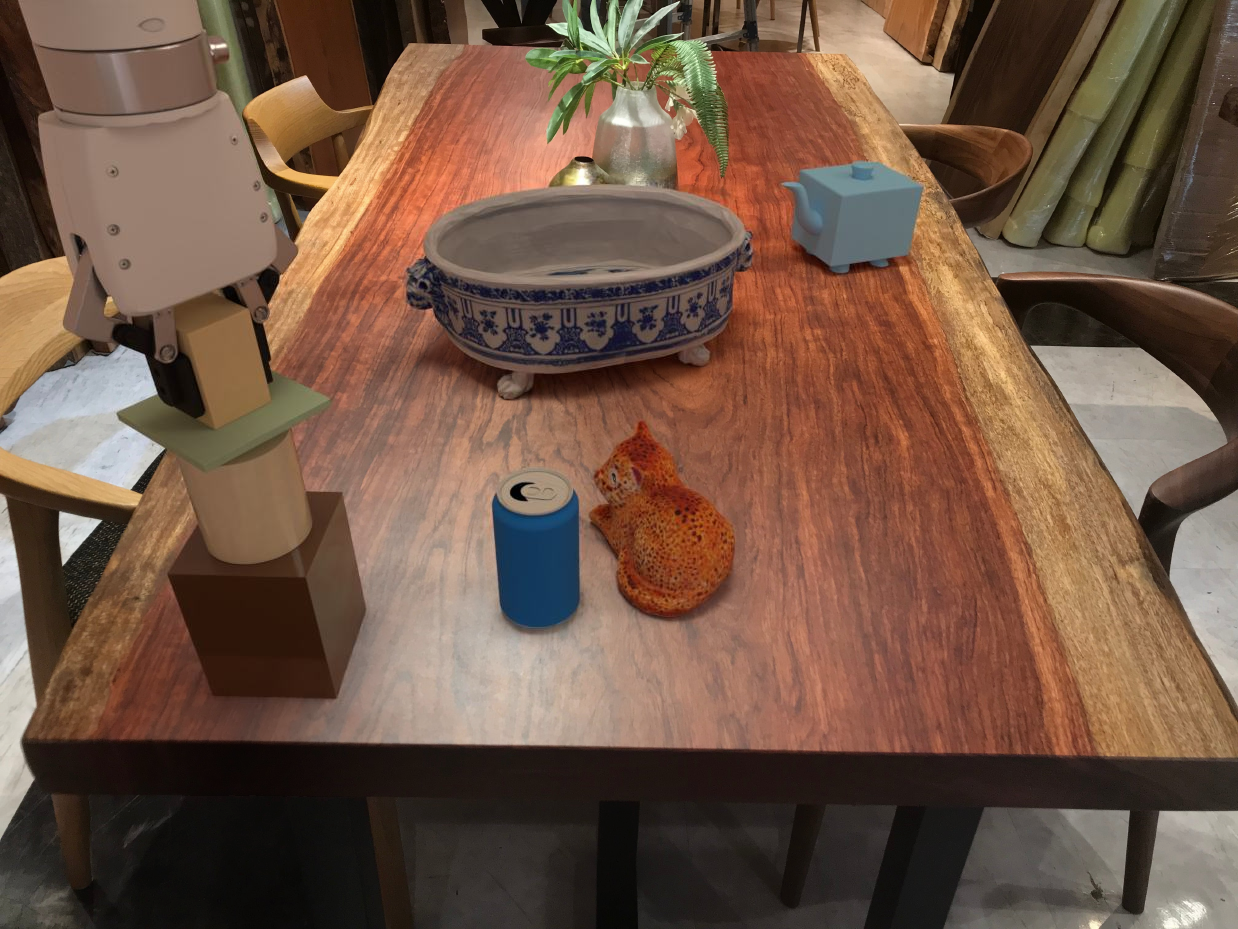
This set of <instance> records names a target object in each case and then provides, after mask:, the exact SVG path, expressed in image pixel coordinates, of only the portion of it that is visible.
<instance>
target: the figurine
mask: <svg viewBox="0 0 1238 929" xmlns="http://www.w3.org/2000/svg"><path fill="white" fill-rule="evenodd" d="M677 470H678V469H677V467H676V464H675V460H674V458H673V456H672V454H671V453H670V452H669V451H668V450H667V449H666V447H664V446H662V445H661V444H660V443H659V442H658V441H656V440H655V439H654V437H653V435H652V433H651V431H650V429H649V426H648V424H647V423H646V421H644V420H638V421H636V425H635V428H634V431H633V435H632V436H630V437H629V438H627V439H625V440H623V441H620V442H618V443H617V444H616V446H615V448H614V449H613V451H612V452H611V454H610V455H609V457H608V459H607V460H606V461H605V462H604V463H603V465H602V466H601V467H600V468H598V469H597V470H596V471H594V473H593V477H592V478H593V482H594V484H595V486H596V488H597V489H598V491H599V493H600V494H601V495H602V497H603V498H604V499H605V501H606V502H607V503H602V504H598V505H597V506H595V507H594V508H593V509H592V510H590V511H589V513H588V518H589V520H590V521H591V522H592V523H593V524H594V525H595V526H597V527H598V529H600V530H601V532H602V534H603V535H604V537H605V539H606V540H607V541H608V543H609V545H610V546H611V548H612V550H613V551H614V553H615V554H616V555H618V558H617V567H616V568H617V570H616V575H615V576H616V581H617V585H618V587H619V589H620V591H621V592H622V593H623V595H624V596H625V598H626V599H627V600H628V601H629V603H630V604H631V605H633V606H635V607H636V608H638V609H639V610H641V612H643V613H646V614H649V615H655V616H659V617H664V618H673V617H674V618H675V617H680V616H683V615H685V614H688V613H689V612H691V611H693V610H695V609H696V608H697V607H699V606H701V604H703V603H705V602H706V600H708V599H709V598H710V597H711V596H712V595H713V594H715V592H716V591H717V590H718V589H719V587H720V586H721V585H722V583H724V581H725V580H727V579H728V578H729V577H730V574H731V572H732V568H733V563H734V559H735V554H736V539H735V531H734V528H733V525H732V524H731V522H729V521H728V520H727V518H725V517H724V515H722V514H721V513H720V512H718V510H717V509H716V507H715V505H714V504H713V503H712V502H710V501H709V500H708V499H707V498H706V497H704V496H703V495H702V494H700V493H698V492H697V491H696V490H694V489H691V488H688V487H686V486H685V485H684V483H683V482H682V480H681V479H680V477H679V474H678V471H677Z"/></svg>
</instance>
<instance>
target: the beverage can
mask: <svg viewBox="0 0 1238 929" xmlns="http://www.w3.org/2000/svg"><path fill="white" fill-rule="evenodd" d="M491 513H492V514H491V515H492V524H493V525H492V526H493V538H494V551H495V564H496V576H497V587H498V599H499V601H498V602H499V606H500V609H501V611H502V613H503V615H504V616H505V617H506V618H507V619H508V620H510V621H511V622H513V623H515V624H516V625H519V626H521V627H524V628H530V629H544V628H550V627H554V626H557V625H559V624H562V623H564V622H566V621H567V620H568V619H570V618H571V617H572V616H573V615H574V614H575V612H576V611H577V609H578V608H579V604H580V600H581V596H580V595H581V594H580V593H581V592H580V590H581V587H580V583H581V582H580V574H581V573H580V572H581V571H580V500H579V497H578V494H577V491H576V490H575V489H574V485H573V482H572V481H571V479H570V478H569V477H568V476H567V475H566V474H565V473H563V472H561V471H559V470H557V469H554V468H551V467H545V466H529V467H523V468H518V469H516V470H513V471H511V472H509V473H508V474H506V475H505V476H503V477H502V478H501V479H500V481H499V482H498V484H497V487H496V492H495V493H494V495H493V498H492V501H491Z"/></svg>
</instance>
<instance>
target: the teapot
mask: <svg viewBox="0 0 1238 929" xmlns="http://www.w3.org/2000/svg"><path fill="white" fill-rule="evenodd" d="M780 185H781V186H782V187H785V188H786V189H788V190H789V191H790V192H791V193H792V195H793V199H794V209H793V210H794V211H793V216H792V217H793V218H792V225H791V233H790V239H792V240H793V241H794V242H796V243H798V244H799V245H800V246H802V247H803V248H804V249H805V252H806V253H807V254H809V255H813V256H815V257H816V258H818V259H819V260H821V261H822V262H823V263H825V264H826V265H827V266H829V270H830V271H831V272H834V273H837V274H846V273H848V272H849V271H850V266H851V265H850V264H856V263H857V264H858V263H864V262H868V263H869V264H870V265H871V266H874V267H878V268H885V267H888V266H889V264H890V263H889V261H888V259H891V258H897V257H905V256H909V255H910V250H911V245H912V242H913V237H914V232H915V229H916V223H917V219H918V214H919V210H920V207H921V206H920V205H921V201H922V198H923V193H924V188H925V187H924V185H923V184H921V183H919V182H917V181H915V180H913V179H912V178H911V177H909V176H908V175H906V174H904V173H901V172H898V171H896V170H895V169H893V168H891V167H889V166H887V165H886V164H883V163H881V162H879V161H868V160H867V161H866V160H856V161H853V162H852V163H848V164H840V165H832V166H824V167H822V166H821V167H814V168H804V169H800V171H799V174H798V182H796V181H786V182H781V183H780Z"/></svg>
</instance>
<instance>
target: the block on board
mask: <svg viewBox="0 0 1238 929" xmlns="http://www.w3.org/2000/svg"><path fill="white" fill-rule="evenodd" d="M174 315H175V325H176V335H177V345H178V349H179V353H181V354H183V355H185V356H187V357H188V358H189V359H190V361H191V364H192V367H193V371H194V374H195V377H196V381H197V384H198V387H199V391H200V394H201V397H202V401H203V404H204V407H205V412H204V415H203V416H201V417H199V418H197V419H194V418H193V417H191V416H189V415H187V414H186V413H184V412H182V411H180V410H179V409H177V408H175V407H170V406H168V405H166V404H165V403H164V402H163V401H162V400H161V399H160V397H159V395H158V393H156V394H154V395H152V396H150V397H147V398H145V399H142V400H141V401H140V400H139V401H138V402H136V403H134V404H132V405H129V406H127V407H125V408H122V409H121V410H119V411H117V412H116V416H117V419H118V421H119V422H121V423H123V424H124V425H126V426H127V427H129V428H131V429H132V430H134V431H136V432H137V433H139V434H141V436H144V437H146V438H147V439H149V440H150V441H152V442H154V443H155V444H157V445H159V446H161V447H162V448H164V449H165V450H167V451H169V452H170V453H172V454H173V455H175V456H176V455H177V456H178V457H180V458H182V459H183V460H185V461H187V462H188V463H190V464H192V465H193V466H195V467H196V468H198V469H200V470H201V471H203V472H205V473H207V472H209V471H211V470H213V469H215V468H217V467H219V466H220V465H222V464H224V463H226V462H228V461H230V460H232V459H234V458H235V457H237V456H239V455H241V454H243V453H245V452H247V451H249V450H250V449H252V448H254V447H256V446H258V445H260V444H262V443H263V442H265V441H267V440H269V439H271V438H273V437H275V436H277V435H278V434H280V433H282V432H284V431H286V430H288V429H290V428H291V429H292V428H293V427H295V426H297V425H300V424H301V423H303V422H305V421H307V420H309V419H311V418H312V417H314V416H317V415H318V414H320V413H322V412H324V411H325V410H327V409H329V408H331V407H332V406H333V405H332V400H331V398H330V397H328V396H326V395H325V394H322V393H320V392H318V391H316V390H314V389H312V388H310V387H307V386H306V385H303V384H301V383H299V382H298V381H295V380H293V379H291V378H289V377H287V376H285V375H284V374H281V373H279V372H277V371H276V370H274V369H271V373H272V377H273V382H271V383H269V384H267V380H266V376H265V372H264V368H263V364H262V360H261V356H260V352H259V348H258V344H257V340H256V336H255V332H254V328H253V324H252V320H251V315H250V311H249V309H247V308H245V307H243V306H241V305H238V304H236V303H234V302H232V301H230V300H227V299H225V298H223V297H221V296H220V295H218V294H216V293H215V292H210V293H208V294H205V295H203V296H200V297H198V298H195V299H192V300H190V301H187V302H184V303H182V304H179V305H176V306H174Z"/></svg>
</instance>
